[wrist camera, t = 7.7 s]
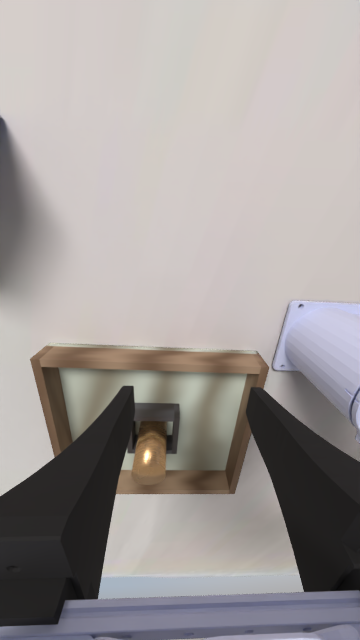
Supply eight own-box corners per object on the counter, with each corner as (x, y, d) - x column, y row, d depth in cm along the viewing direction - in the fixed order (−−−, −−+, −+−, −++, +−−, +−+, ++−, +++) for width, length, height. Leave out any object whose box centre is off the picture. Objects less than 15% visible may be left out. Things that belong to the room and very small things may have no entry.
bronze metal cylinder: (166, 410, 24) (164, 462, 18) (167, 429, 25) (166, 484, 19) (139, 411, 24) (129, 464, 18) (142, 430, 25) (133, 485, 19)
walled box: (256, 351, 22) (269, 367, 19) (228, 469, 29) (234, 493, 26) (49, 342, 20) (30, 359, 18) (74, 468, 28) (63, 494, 25)
